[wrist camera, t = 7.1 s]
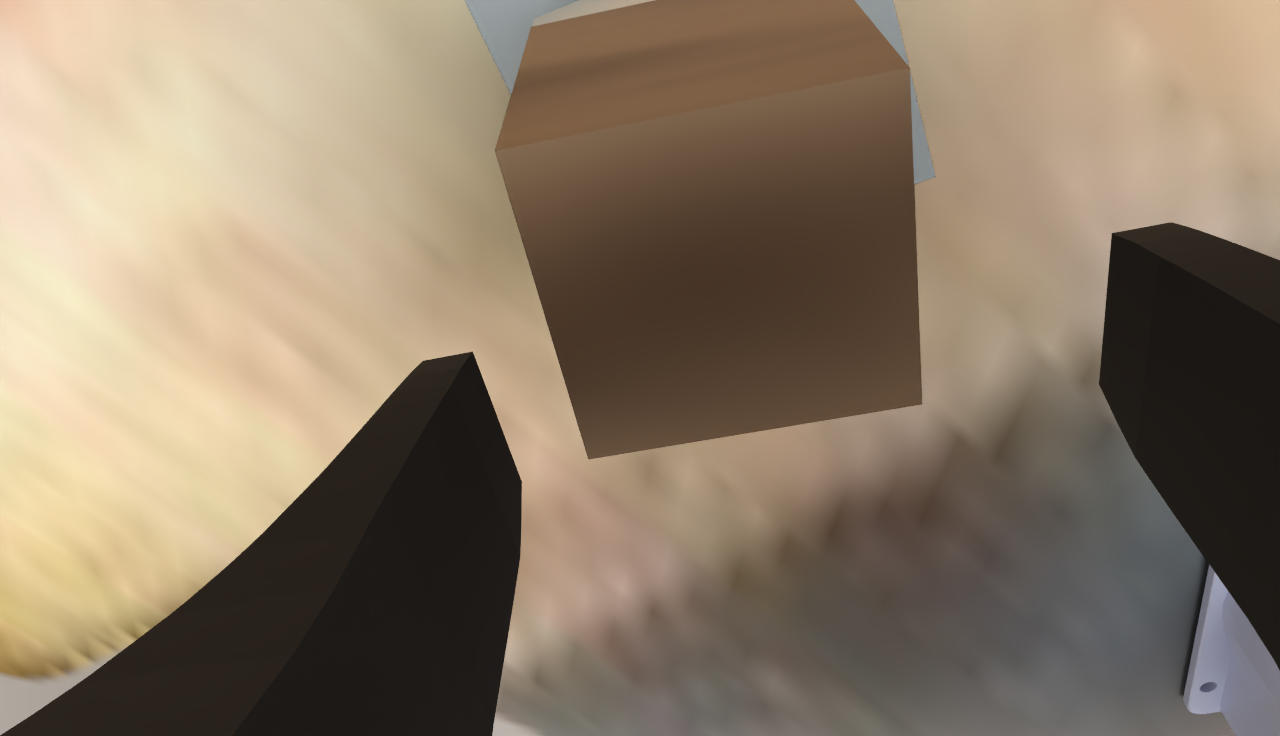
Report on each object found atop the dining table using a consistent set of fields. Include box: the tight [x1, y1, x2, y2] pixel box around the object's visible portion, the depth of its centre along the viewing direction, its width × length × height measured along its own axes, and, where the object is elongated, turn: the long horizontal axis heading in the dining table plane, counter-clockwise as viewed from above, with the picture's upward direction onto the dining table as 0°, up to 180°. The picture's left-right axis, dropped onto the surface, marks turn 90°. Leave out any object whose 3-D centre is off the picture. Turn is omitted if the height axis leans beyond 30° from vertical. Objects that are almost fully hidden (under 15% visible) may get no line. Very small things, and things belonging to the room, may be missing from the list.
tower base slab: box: [465, 0, 936, 184], centre depth 18 cm, size 7×7×2 cm
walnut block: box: [495, 0, 922, 459], centre depth 13 cm, size 4×4×5 cm
